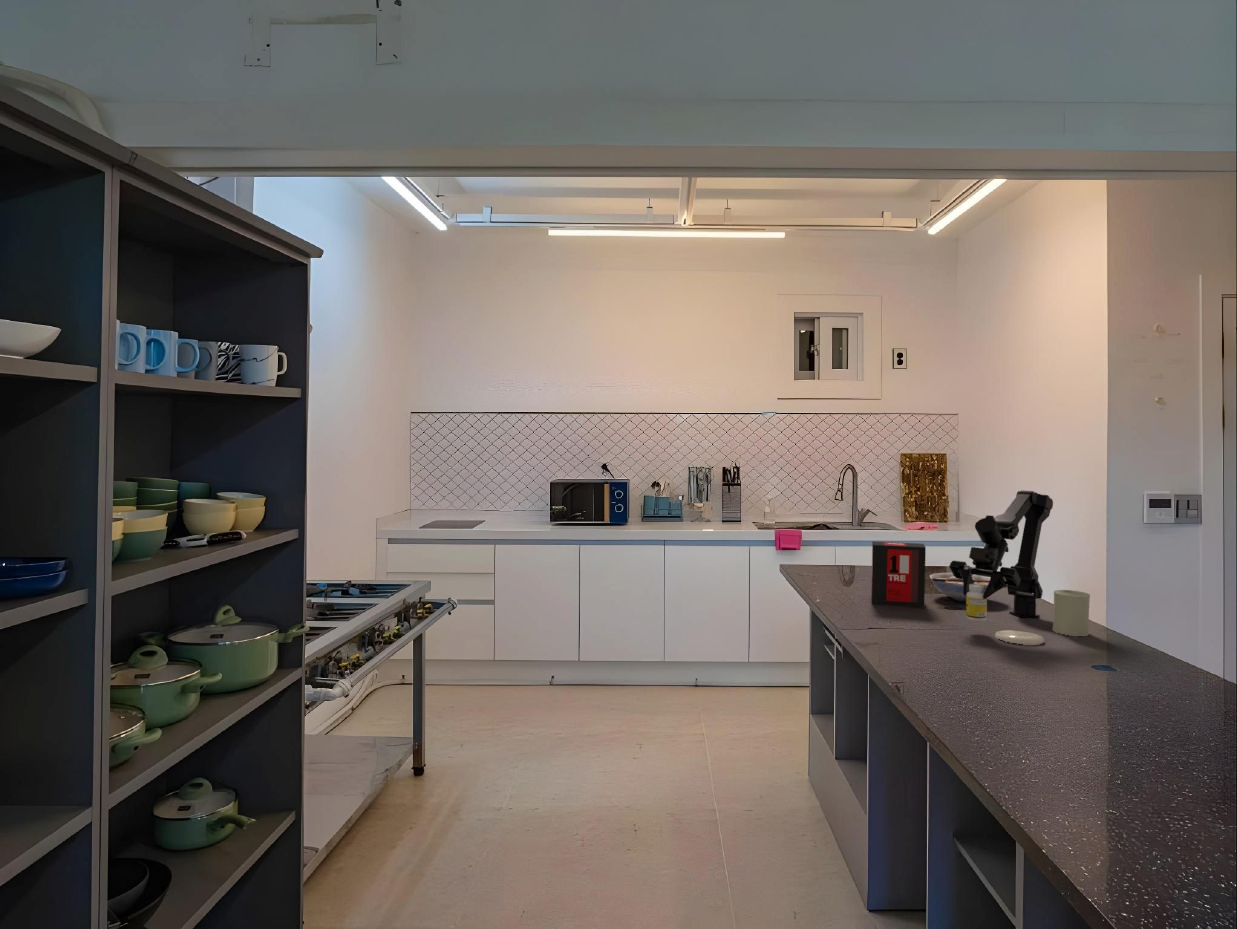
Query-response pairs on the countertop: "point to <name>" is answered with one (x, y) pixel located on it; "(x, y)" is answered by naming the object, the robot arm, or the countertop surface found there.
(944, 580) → the ramen bowl
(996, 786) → the countertop surface
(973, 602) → the supplement bottle
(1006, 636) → the coaster
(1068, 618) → the can
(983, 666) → the countertop surface
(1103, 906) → the countertop surface
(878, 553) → the cleaning product box
